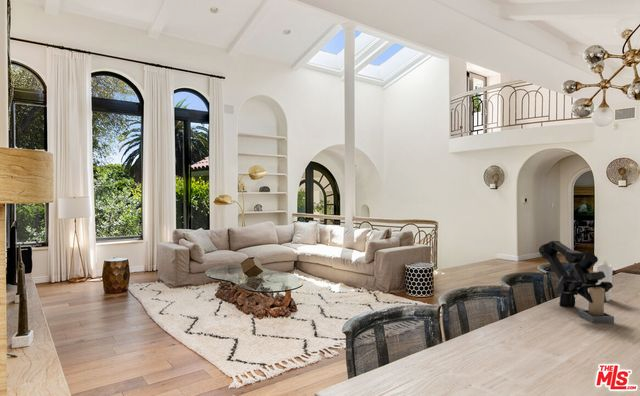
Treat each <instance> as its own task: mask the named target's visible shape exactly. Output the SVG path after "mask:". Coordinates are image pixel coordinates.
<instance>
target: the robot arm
mask: <svg viewBox="0 0 640 396" xmlns="http://www.w3.org/2000/svg"><path fill="white" fill-rule="evenodd" d="M538 253H539V255H540V256H541V257H542V258H543V259H545V260H547V261H548V263H549V264H550V266H551V267H552V269H553V271H554V273H555V274H556V276H557V278H558V280H559V282H558V286H557V287H556V288H555V290H556V291H555V292H556V293H557V294H559V301H558V304H559V306H560V307H568V308H575V306H576V297H575V296H578V295H580V296H581V297H583V298H584V299H585V300H586V301H588V303H589V302H590V303H592V302H593V301H592V298H591V296H590V294H589V288H590V287H600V288H603V289H605V292H608V291H609V290H610V289H611V288H613V287H614V286H613V285H614V284H613V282H612V283H611V282H601V283H600V284H597V283H598V282H599V281H598V280H602V279H603V278H605V274H604V272H603V271H599V272H597V271H596V272H594V271H593V272H590V270H591V269H592V268H594V266H595V265H596V264H597V263H598V262H599V258H598V257H597V255H595V254H594V253H591V251H585V252H584V253H583V252H581V251H579V250H573V249H572V248H570V247H568V246H567V245H565V244H563V242H561V241H559V240H550V241H549V242H547V243H545V244H544V243H543V245H541V246H539V248H538ZM558 253H559V254H561V255H562V256H564V257H565V258H564V260H566V262H568V263H569V264H574V265H572V268H571V271H572V272H575V274H576V276H577V278H576V277H575V275H569V273H568V271H567V270H566V269H565V267H564V265H563V264H562V262H561V260H560V259H559V258H558ZM605 303H607V301H606V296H604V304H605Z"/></svg>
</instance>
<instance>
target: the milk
mask: <svg viewBox="0 0 640 396" xmlns="http://www.w3.org/2000/svg"><path fill="white" fill-rule="evenodd" d="M596 266H597V267H596V272H599V271H603V272H604V274H605V278H603V279H602V280H598V281H599V282H598V283H596V284H600V283H601V282H611V283H612V284H613V265H611V264H610V263H608V262H607V259H605V260H604V261H603V263H600V264H599V265H596ZM612 288H613V287H612ZM612 288H611V289H610V290H609V291H608V292H605V296H606V302H610V301H611V300H612Z"/></svg>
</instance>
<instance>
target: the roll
mask: <svg viewBox="0 0 640 396" xmlns="http://www.w3.org/2000/svg"><path fill="white" fill-rule="evenodd" d="M588 292H589V294H590V296H591V298H592V301H593V302H592V303H590V302H589V301H588V309H587V310H588V314H590V315H593V316H604V311H605V303H604V296H605V289H603V288H600V287H590V288H589V289H588Z"/></svg>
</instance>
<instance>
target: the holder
mask: <svg viewBox="0 0 640 396" xmlns="http://www.w3.org/2000/svg"><path fill="white" fill-rule="evenodd" d="M588 310H589V309H578V317H580V318H582V319H584V320H586V321H588V322H590V323H592V324H615V316H614V315H611V314H609V313H606V312H604V316H593V315H590V314H588Z"/></svg>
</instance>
